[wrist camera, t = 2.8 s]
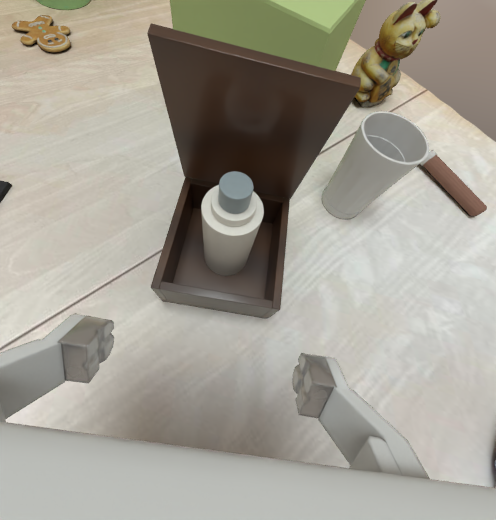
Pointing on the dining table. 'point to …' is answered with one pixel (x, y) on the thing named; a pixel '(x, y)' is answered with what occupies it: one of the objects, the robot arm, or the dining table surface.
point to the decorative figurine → (392, 50)
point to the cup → (374, 162)
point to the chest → (208, 282)
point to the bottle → (230, 223)
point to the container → (274, 26)
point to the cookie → (44, 34)
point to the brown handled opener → (453, 184)
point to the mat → (4, 188)
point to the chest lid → (246, 109)
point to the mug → (64, 4)
